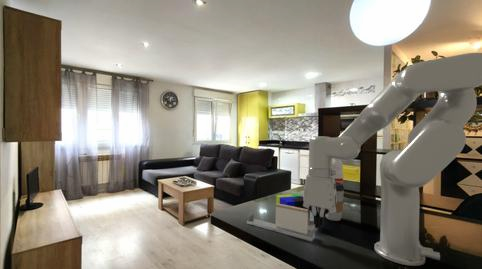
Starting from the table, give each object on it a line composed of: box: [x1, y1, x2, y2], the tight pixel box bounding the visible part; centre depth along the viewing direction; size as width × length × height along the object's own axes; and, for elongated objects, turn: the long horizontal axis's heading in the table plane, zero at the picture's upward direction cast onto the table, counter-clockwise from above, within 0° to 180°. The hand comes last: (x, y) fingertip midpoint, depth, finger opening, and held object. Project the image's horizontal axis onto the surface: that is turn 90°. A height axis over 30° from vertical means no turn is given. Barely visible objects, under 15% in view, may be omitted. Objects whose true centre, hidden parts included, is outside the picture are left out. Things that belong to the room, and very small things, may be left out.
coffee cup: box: [324, 182, 345, 222], centre depth 98 cm, size 8×8×15 cm
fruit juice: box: [332, 158, 344, 185], centre depth 130 cm, size 9×9×28 cm
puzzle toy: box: [275, 193, 311, 227], centre depth 94 cm, size 10×10×10 cm
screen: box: [274, 203, 309, 234], centre depth 82 cm, size 12×1×8 cm, turn 56°
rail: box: [246, 213, 316, 243], centre depth 85 cm, size 26×4×3 cm, turn 56°
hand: (318, 226), depth 77 cm, fingers closed
